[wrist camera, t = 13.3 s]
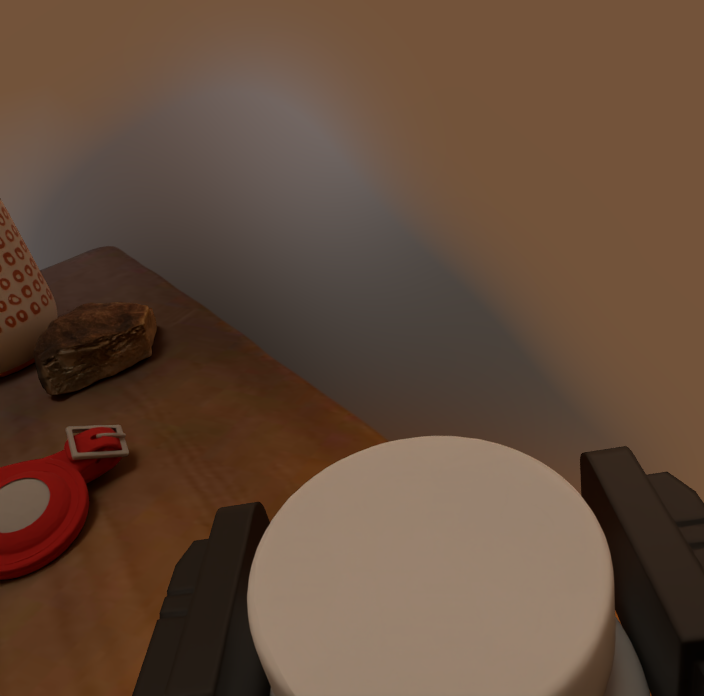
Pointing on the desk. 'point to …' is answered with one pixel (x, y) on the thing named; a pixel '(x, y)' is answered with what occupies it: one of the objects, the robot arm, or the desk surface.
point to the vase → (20, 300)
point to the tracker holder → (52, 497)
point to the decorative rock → (93, 344)
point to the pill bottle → (438, 580)
